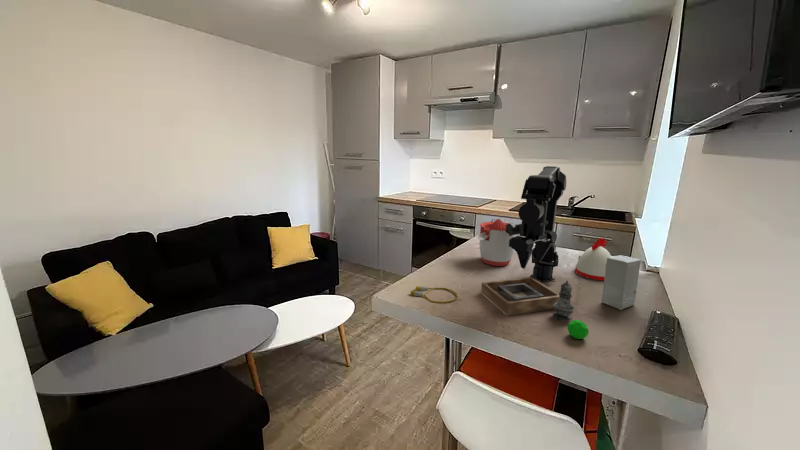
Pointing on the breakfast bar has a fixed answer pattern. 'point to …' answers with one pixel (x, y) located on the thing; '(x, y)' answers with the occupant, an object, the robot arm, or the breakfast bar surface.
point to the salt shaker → (564, 304)
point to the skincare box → (620, 281)
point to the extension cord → (429, 291)
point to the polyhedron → (577, 329)
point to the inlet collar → (509, 290)
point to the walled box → (521, 305)
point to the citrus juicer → (495, 243)
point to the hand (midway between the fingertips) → (530, 265)
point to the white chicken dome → (593, 261)
